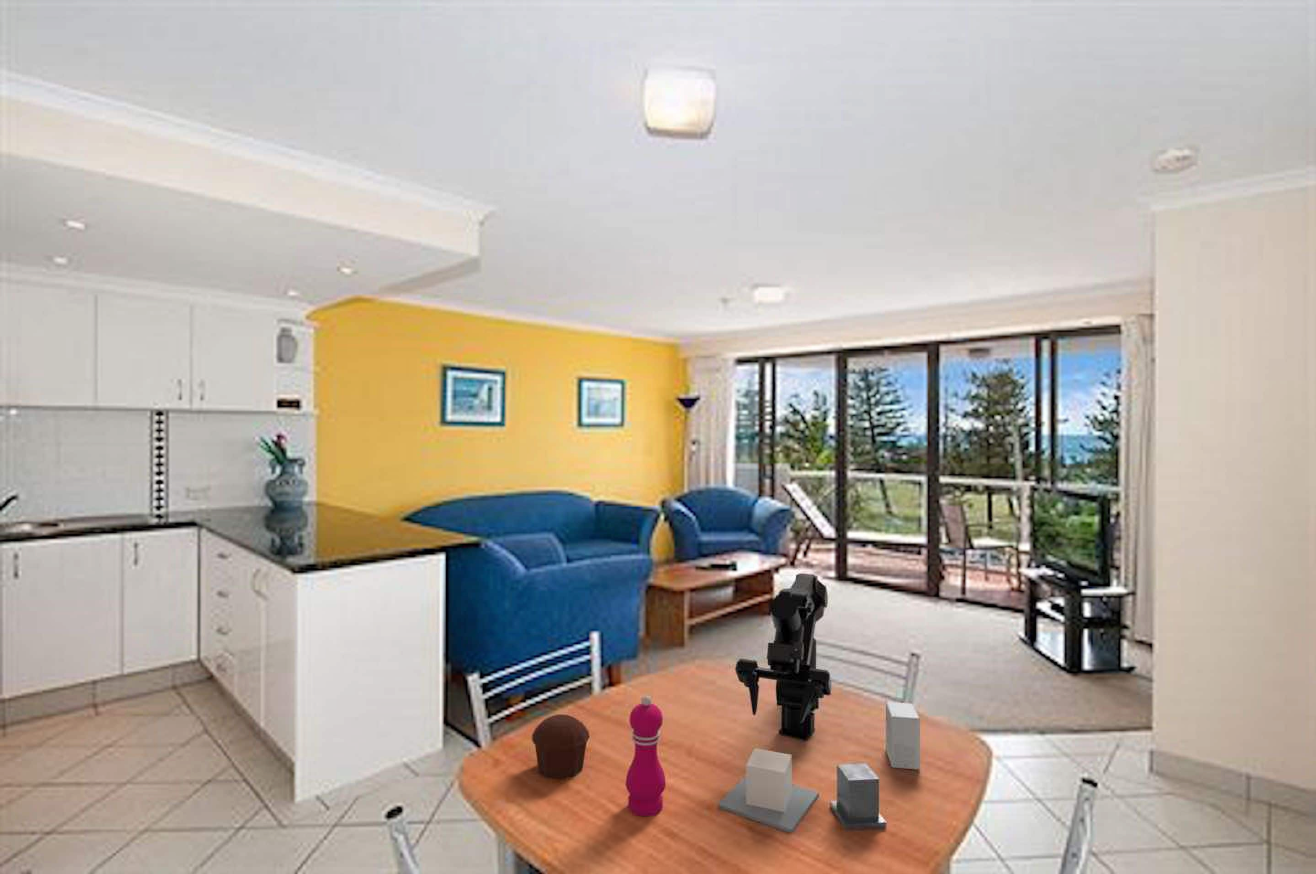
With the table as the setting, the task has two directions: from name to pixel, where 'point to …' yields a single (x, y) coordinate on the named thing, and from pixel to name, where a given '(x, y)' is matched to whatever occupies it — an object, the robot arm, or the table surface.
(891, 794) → the table surface
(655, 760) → the pepper mill
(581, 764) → the muffin
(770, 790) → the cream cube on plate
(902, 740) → the small box
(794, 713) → the robot arm
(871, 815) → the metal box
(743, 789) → the mat
